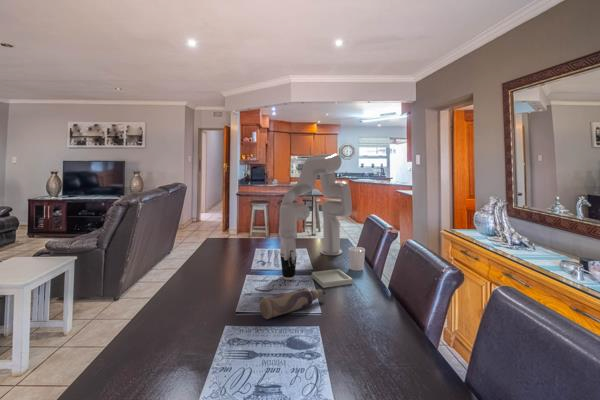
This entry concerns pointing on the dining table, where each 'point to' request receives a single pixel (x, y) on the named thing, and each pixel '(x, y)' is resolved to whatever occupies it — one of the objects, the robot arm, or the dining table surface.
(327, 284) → the tray
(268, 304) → the decorative bottle
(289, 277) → the dixie cup
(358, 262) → the white cup
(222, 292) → the dining table surface
